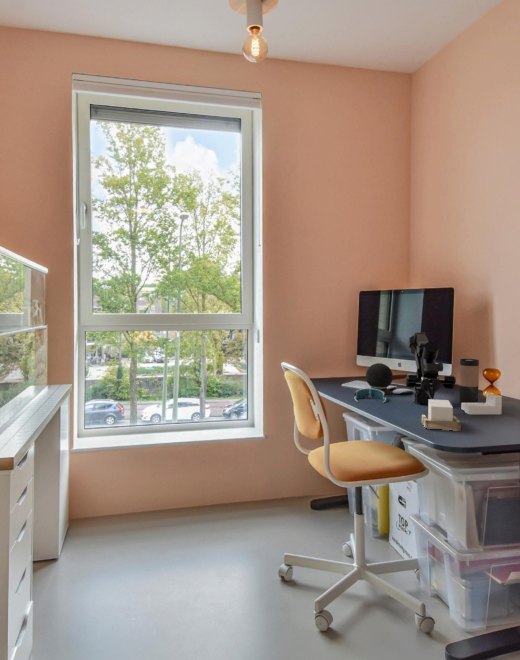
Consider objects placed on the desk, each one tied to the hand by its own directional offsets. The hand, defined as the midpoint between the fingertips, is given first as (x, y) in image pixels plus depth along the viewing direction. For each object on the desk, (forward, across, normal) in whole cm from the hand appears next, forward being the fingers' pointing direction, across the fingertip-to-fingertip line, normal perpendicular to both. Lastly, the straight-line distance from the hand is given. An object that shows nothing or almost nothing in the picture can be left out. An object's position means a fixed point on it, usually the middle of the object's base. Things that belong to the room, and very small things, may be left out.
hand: (432, 398), depth 186 cm
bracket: (-1, +20, +11) cm, 23 cm away
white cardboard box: (+16, 0, -8) cm, 18 cm away
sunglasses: (-13, -23, +23) cm, 35 cm away
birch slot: (+18, 0, -10) cm, 20 cm away
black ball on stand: (-28, -19, +38) cm, 50 cm away
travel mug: (-12, +19, +22) cm, 31 cm away
